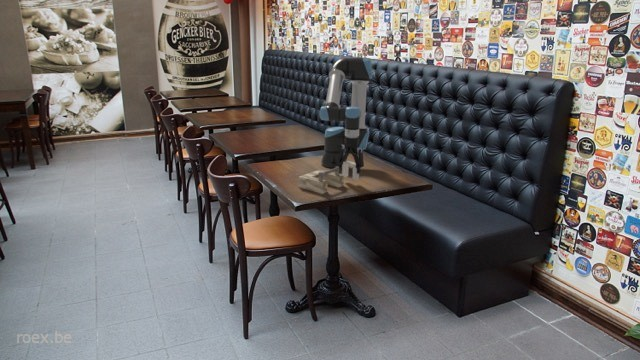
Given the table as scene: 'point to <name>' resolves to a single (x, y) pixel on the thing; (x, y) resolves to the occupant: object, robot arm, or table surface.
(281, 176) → the table surface
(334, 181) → the c-clamp
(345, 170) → the white u-shaped bracket
